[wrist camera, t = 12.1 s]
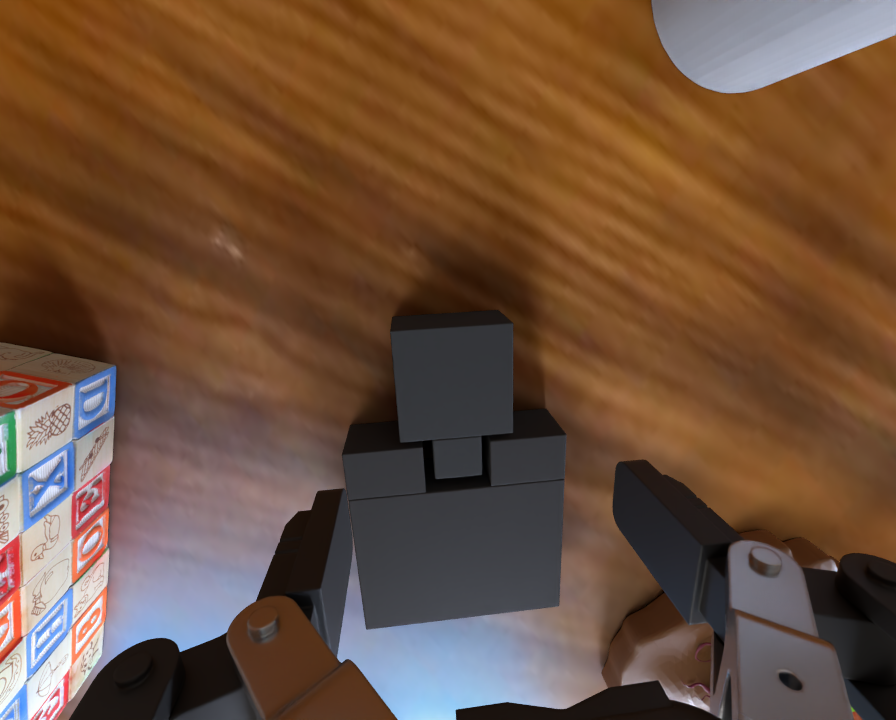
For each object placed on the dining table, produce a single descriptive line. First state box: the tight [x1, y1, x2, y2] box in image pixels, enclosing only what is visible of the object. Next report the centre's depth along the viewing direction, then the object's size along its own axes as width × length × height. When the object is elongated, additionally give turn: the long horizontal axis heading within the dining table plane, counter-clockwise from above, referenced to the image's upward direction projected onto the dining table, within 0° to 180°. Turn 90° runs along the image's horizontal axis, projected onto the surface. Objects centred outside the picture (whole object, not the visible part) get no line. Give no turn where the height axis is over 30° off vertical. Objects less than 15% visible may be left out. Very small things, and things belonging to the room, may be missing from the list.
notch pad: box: [342, 409, 566, 630], centre depth 26 cm, size 12×12×4 cm
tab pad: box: [390, 310, 513, 479], centre depth 23 cm, size 6×8×4 cm
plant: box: [602, 530, 856, 712], centre depth 29 cm, size 20×20×11 cm
